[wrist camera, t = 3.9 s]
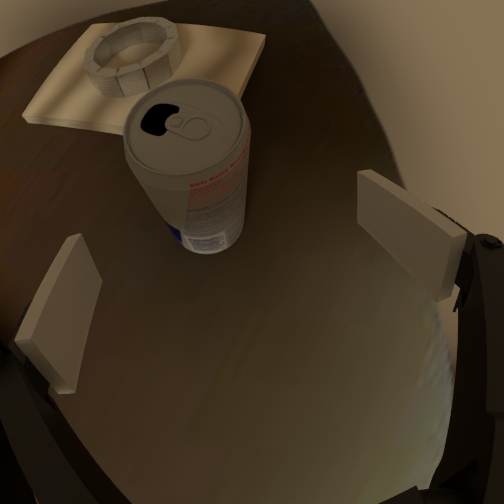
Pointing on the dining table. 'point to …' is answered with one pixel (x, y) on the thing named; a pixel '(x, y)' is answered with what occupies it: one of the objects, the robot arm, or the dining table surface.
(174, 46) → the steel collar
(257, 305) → the dining table surface
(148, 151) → the energy drink
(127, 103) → the serving board
